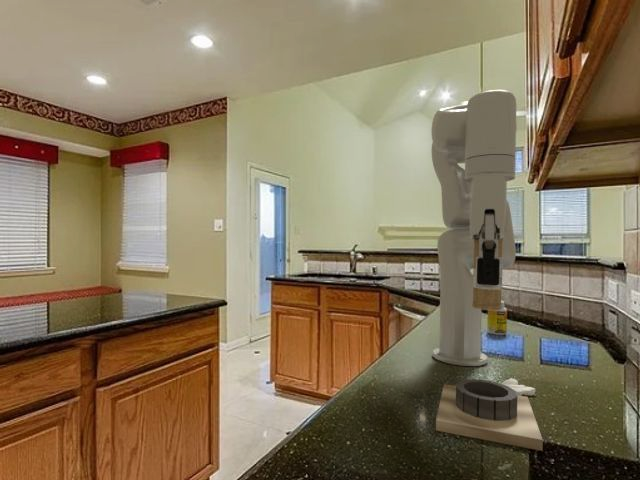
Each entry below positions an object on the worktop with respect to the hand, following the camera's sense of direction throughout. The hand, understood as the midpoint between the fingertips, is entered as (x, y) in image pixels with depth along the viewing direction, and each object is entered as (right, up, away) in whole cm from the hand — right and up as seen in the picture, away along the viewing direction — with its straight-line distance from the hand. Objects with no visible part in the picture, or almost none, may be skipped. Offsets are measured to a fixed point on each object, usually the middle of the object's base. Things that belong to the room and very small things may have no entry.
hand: (487, 281), depth 63 cm
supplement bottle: (+29, -23, +59) cm, 70 cm away
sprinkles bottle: (0, -5, 0) cm, 5 cm away
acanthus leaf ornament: (+10, -23, +12) cm, 28 cm away
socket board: (0, -22, 0) cm, 22 cm away
